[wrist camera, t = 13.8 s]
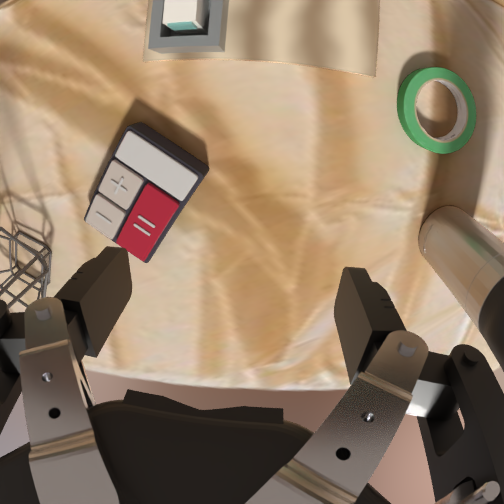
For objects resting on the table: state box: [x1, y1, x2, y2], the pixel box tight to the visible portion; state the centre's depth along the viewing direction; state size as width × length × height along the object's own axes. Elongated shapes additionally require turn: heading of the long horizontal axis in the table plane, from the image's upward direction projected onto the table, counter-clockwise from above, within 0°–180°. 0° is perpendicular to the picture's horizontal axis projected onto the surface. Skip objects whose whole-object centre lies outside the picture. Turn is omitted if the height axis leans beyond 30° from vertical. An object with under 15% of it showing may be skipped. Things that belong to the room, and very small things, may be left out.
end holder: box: [148, 0, 229, 54], centre depth 26 cm, size 7×10×4 cm
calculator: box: [84, 122, 209, 263], centre depth 38 cm, size 11×4×15 cm
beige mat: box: [143, 0, 380, 78], centre depth 28 cm, size 27×14×1 cm, turn 86°
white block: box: [163, 0, 209, 34], centre depth 24 cm, size 3×6×6 cm, turn 177°
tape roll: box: [397, 67, 476, 154], centre depth 31 cm, size 11×11×3 cm
